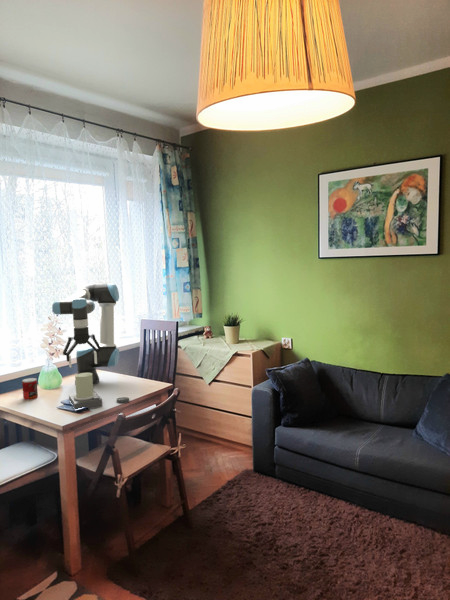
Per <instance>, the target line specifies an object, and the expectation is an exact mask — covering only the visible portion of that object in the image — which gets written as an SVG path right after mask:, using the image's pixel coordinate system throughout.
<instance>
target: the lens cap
mask: <svg viewBox="0 0 450 600" xmlns="http://www.w3.org/2000/svg"><path fill="white" fill-rule="evenodd" d="M129 402H130V397H128V396H127V397H125V396H124V397H123V396H121V397H118V398H116V404H127V403H129Z"/></svg>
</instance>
